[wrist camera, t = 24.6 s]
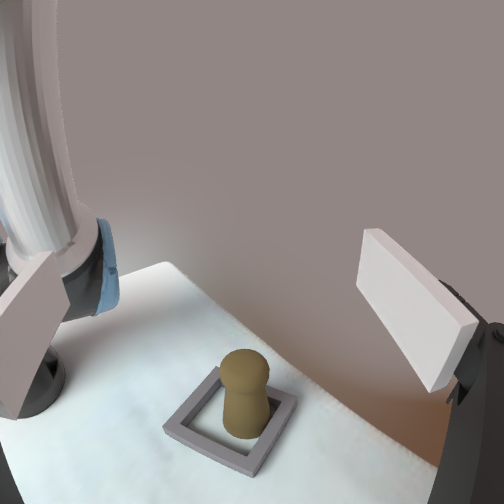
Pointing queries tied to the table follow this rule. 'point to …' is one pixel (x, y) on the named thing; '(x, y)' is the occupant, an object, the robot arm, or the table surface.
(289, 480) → the table surface
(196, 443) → the gray square frame
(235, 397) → the cork
